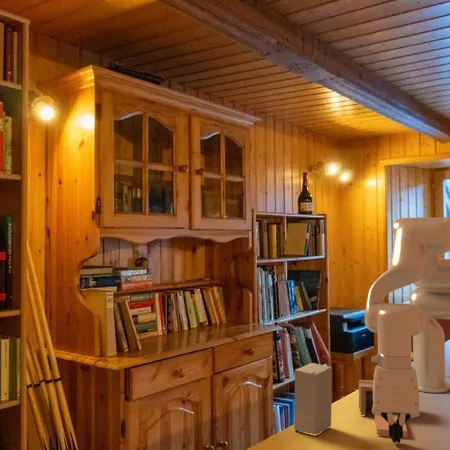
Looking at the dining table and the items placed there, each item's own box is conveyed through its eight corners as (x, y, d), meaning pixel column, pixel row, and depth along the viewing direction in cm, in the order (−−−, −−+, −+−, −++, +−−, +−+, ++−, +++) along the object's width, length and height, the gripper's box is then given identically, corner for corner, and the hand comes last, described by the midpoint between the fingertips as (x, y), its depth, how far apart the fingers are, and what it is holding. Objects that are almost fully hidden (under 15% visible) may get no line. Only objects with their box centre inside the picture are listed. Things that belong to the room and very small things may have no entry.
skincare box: (309, 422, 143) (309, 361, 144) (334, 428, 139) (333, 365, 139) (292, 432, 137) (291, 368, 137) (317, 438, 132) (316, 372, 133)
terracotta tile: (374, 421, 145) (374, 413, 145) (402, 423, 144) (402, 415, 144) (377, 438, 133) (377, 429, 133) (407, 440, 132) (407, 430, 132)
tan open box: (359, 407, 156) (358, 378, 156) (406, 409, 154) (406, 380, 154) (361, 416, 148) (360, 386, 148) (411, 418, 146) (411, 388, 146)
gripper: (363, 364, 126) (364, 445, 125) (431, 366, 123) (432, 448, 123) (360, 357, 133) (361, 433, 133) (425, 358, 131) (426, 436, 130)
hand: (395, 440), depth 128 cm, fingers closed
